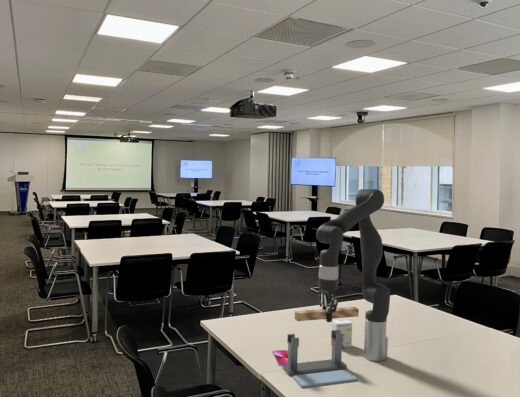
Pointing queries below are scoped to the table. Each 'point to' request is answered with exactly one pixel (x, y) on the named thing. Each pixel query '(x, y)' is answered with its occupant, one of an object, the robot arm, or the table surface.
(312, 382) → the mat
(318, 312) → the rail
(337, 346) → the rack
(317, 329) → the table surface
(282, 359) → the smartphone
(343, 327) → the ink box
